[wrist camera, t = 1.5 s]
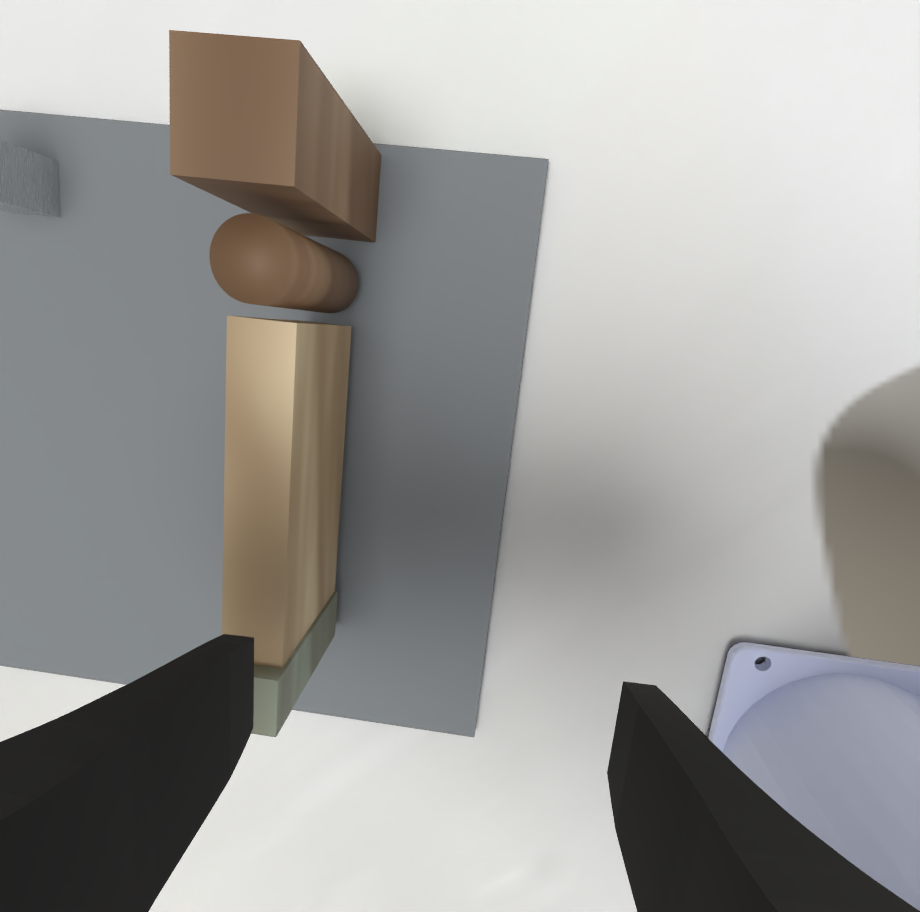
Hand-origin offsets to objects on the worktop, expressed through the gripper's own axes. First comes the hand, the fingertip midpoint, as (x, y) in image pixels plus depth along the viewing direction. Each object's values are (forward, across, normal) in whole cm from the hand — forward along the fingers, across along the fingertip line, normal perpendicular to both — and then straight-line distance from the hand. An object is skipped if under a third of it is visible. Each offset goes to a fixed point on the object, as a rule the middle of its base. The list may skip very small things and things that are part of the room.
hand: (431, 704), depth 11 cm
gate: (+8, +5, -3) cm, 9 cm away
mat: (+9, +9, -3) cm, 13 cm away
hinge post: (+9, +5, -10) cm, 14 cm away
